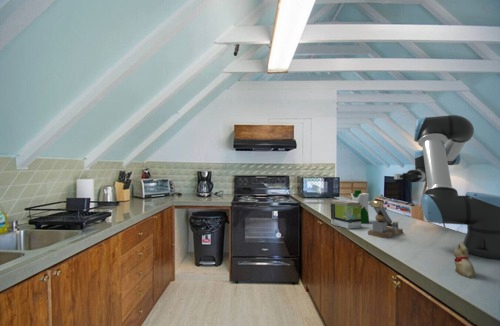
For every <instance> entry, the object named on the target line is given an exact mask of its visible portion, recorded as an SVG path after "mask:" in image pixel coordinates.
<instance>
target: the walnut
mask: <svg viewBox="0 0 500 326" xmlns="http://www.w3.org/2000/svg"><path fill="white" fill-rule="evenodd" d="M374 219H375V221H376V220H377V221H379V222H381V221H383V216H382V215H380V214H376V215H375V218H374Z"/></svg>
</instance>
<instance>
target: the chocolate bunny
mask: <svg viewBox="0 0 500 326" xmlns="http://www.w3.org/2000/svg"><path fill="white" fill-rule="evenodd" d="M453 251H454V252H453V255H454V257H455V258H454V265H455V269H454V271H455V272H456V273H457V274H458V275H460V276H463V277H465V278H469V279H473V278H475V277H476V270H475V267H474V265H473V263H472V261H470V258H469V253H468V249H467V248H466V246H465V245H464V243H463V241H461V242H459V243H458V244H457V247H456V248H455V249H453Z"/></svg>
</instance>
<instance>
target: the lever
mask: <svg viewBox="0 0 500 326" xmlns="http://www.w3.org/2000/svg"><path fill="white" fill-rule="evenodd" d="M369 205H370V207H371V208H373V209H374V211H375V212H376V215H378V214H380V215H382V216H383V221H385V222H387V226H388V227H390V226H391V224H392V222H393V221H392V219H391V218H390V215H389V214H388V212H387V211H386V208H385V207H384V202H383V201H379V200H370V203H369Z"/></svg>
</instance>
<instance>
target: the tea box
mask: <svg viewBox="0 0 500 326" xmlns="http://www.w3.org/2000/svg"><path fill="white" fill-rule="evenodd" d="M330 224H331V225H333V226H338V227H341V228H344V229H347V230H350V229H359V228H361V227H362V224H361V204H360V202H357V201H352V200H349V199H348V200H347V199H333V200H330Z"/></svg>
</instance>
